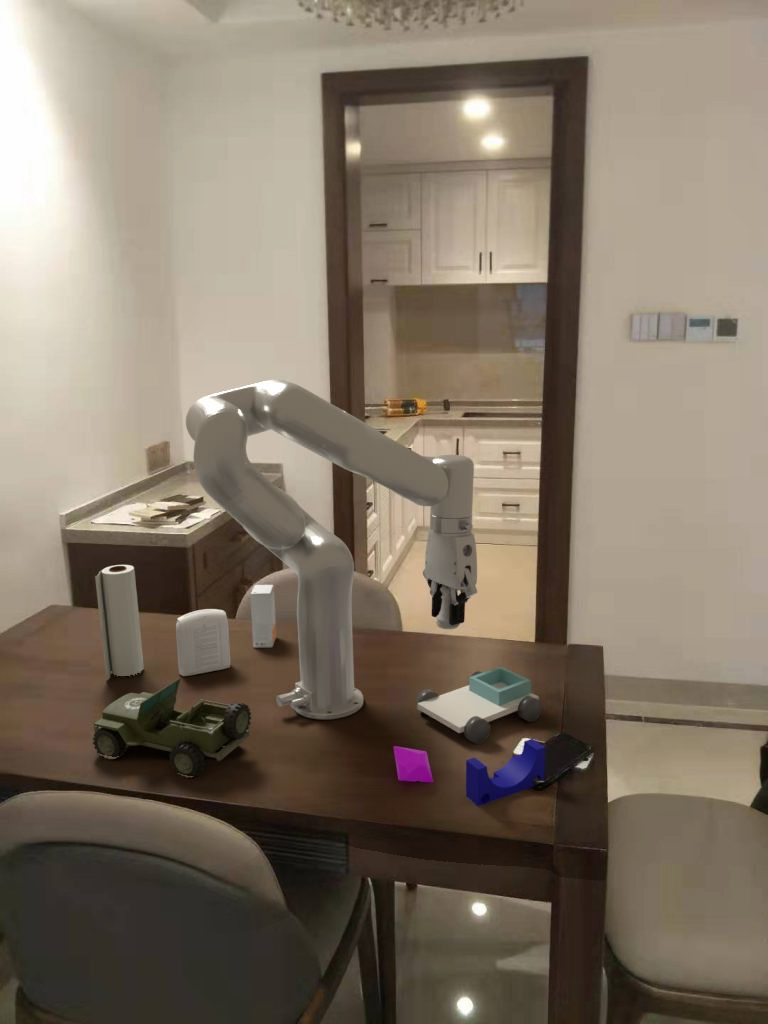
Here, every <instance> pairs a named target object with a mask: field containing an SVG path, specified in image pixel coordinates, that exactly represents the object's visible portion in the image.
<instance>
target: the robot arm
mask: <svg viewBox="0 0 768 1024" xmlns="http://www.w3.org/2000/svg"><path fill="white" fill-rule="evenodd" d="M185 426H186V430H187V432H188V434H189V436H190V438H191V439H192V440H193V441H194V448H193V465H194V470H195V471H194V472H195V474H196V478H197V479H198V482H199V484H200V486H201V487H202V488H203V490H204V491H205V492H206V494H207V495H208V496H209V497H210V498H211V499H212V500H213V502H215V503H216V504H218V505H219V506H220V507H221V508H222V509H223V510H224V511H226V512H227V514H229V515H230V517H231V518H232V519H234V520H235V522H237V523H239V525H241V526H242V528H243V529H244V530H245V531H246V532H247V534H249V535H250V537H251V538H253V539H254V540H255V541H256V542H258V543H259V544H261V545H262V546H264V548H266V549H267V550H268V551H269V552H271V553H272V554H273V555H274V556H275V557H277V558H278V559H279V560H281V561H282V562H283V563H284V564H285V565H286V566H288V568H290V570H292V571H293V573H294V574H295V575H296V576H297V579H298V587H297V591H298V592H297V598H296V599H297V600H296V618H297V619H296V621H297V634H298V635H297V639H298V654H299V655H298V657H299V658H298V659H299V678H300V680H299V681H297V682H295V685H294V687H295V688H294V689H292V690H291V691H290V692H287V693H283V694H280V695H276V697H275V700H276V704H277V706H278V707H284V706H287V705H290V708H291V709H293V710H294V711H295V712H296V713H297V714H299V715H300V716H302V717H305V718H309V719H314V720H336V719H341V718H345V717H348V716H350V715H353V714H355V713H357V712H358V711H359V710H360V709H361V708H362V707H363V705H364V694H363V693H362V691H361V690H360V689H358V688H356V687H355V673H354V671H355V669H354V643H353V620H352V619H353V617H352V615H353V614H352V613H353V612H352V597H353V596H352V594H353V593H352V592H353V583H354V576H355V574H354V573H355V563H354V558H353V554H352V553H351V551H350V549H349V547H348V546H347V545H346V543H345V542H344V541H343V540H342V539H341V538H340V537H339V536H336V535H335V534H334V533H333V532H331V531H329V530H328V529H327V528H326V527H324V526H323V525H322V524H320V523H319V522H318V521H317V520H316V519H314V517H313V516H312V515H310V514H309V513H308V512H307V511H306V510H304V508H303V507H301V506H300V505H299V504H298V502H297V501H296V500H295V498H293V497H292V496H291V495H290V494H288V493H287V492H285V491H284V490H283V489H281V488H280V487H278V486H276V485H275V484H274V483H273V482H271V481H270V480H269V478H267V477H266V476H265V475H264V474H263V473H262V472H261V471H260V470H259V469H258V468H257V467H256V466H255V465H253V464H252V462H251V461H250V459H249V457H248V454H247V443H248V437H251V436H254V435H257V434H258V435H259V434H261V433H264V432H267V431H270V430H272V431H273V432H275V433H277V434H278V435H280V436H283V437H284V438H287V440H290V441H292V442H294V443H296V444H298V445H299V446H301V447H303V448H305V449H307V450H309V451H310V452H313V453H314V454H317V455H319V456H320V457H321V458H323V459H325V460H327V461H329V462H331V463H333V464H335V465H337V466H339V467H341V468H343V469H344V470H346V471H348V472H351V473H354V474H357V475H359V476H362V477H364V478H366V479H368V480H371V481H372V482H374V483H376V484H379V485H381V486H382V487H384V488H386V489H388V490H390V491H391V492H393V493H395V494H396V495H398V496H400V497H401V498H403V499H407V500H408V501H410V502H412V503H414V504H416V505H417V506H421V507H430V510H429V511H430V514H429V521H430V522H429V529H428V534H427V539H426V545H425V556H424V558H425V559H424V569H423V571H422V575H423V577H424V579H425V580H426V581H427V585H428V587H429V589H430V590H429V593H430V596H431V617H432V618H437V615H438V614H439V612H440V610H441V605H442V598H441V596H442V592H441V590H440V588H441V587H442V585H445V586H447V587H450V588H451V596H452V603H453V604H450V611H449V624H450V625H456V624H463V623H464V622H465V620H466V619H465V612H466V611H465V610H466V603H468V600H469V599H471V597H473V596H474V595H476V594H478V589H477V586H476V585H477V581H478V557H477V544H476V539H475V533H472V530H473V526H474V525H473V524H472V523H473V500H474V499H473V498H474V497H473V496H474V495H473V494H474V472H475V471H474V469H475V467H474V466H475V465H474V464H475V463H474V461H473V460H472V459H471V458H470V457H468V456H466V455H459V454H443V455H438V456H425V455H421V454H419V453H417V452H416V451H414V450H412V449H410V448H408V447H407V446H405V445H403V444H402V443H400V442H398V441H396V440H394V439H392V438H391V437H389V436H387V435H385V434H384V433H382V432H381V431H379V430H377V429H376V428H374V427H373V426H372V425H369V424H368V423H366V422H365V421H363V420H361V419H359V418H357V417H355V416H354V415H352V414H351V413H348V412H347V411H345V410H344V409H342V408H339V407H338V406H336V405H334V404H332V403H331V402H329V401H327V400H325V399H324V398H322V397H321V396H318V395H317V394H315V393H313V392H311V391H310V390H308V389H306V388H304V387H303V386H301V385H298V384H297V383H293V382H290V381H287V380H283V379H277V378H276V379H269V380H265V381H262V382H261V381H260V382H257V383H253V384H249V385H245V386H242V387H237V388H234V389H229V390H226V391H221V392H218V393H217V392H216V393H213V394H209V395H206V396H203V397H201V398H199V399H198V400H196V401H195V402H194V403H193V404H191V406H190V407H189V409H188V411H187V412H186V416H185ZM458 591H460V593H459V594H458Z"/></svg>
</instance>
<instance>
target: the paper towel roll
mask: <svg viewBox="0 0 768 1024" xmlns="http://www.w3.org/2000/svg"><path fill="white" fill-rule="evenodd" d="M135 573H136V572H135V566H133V565H130V564H116V565H110V566H107V567H105V568H103V569H101V570H100V571H99V572H98V574H97V575H95V577H94V578H95V587H96V598H97V599H96V600H97V605H98V606H97V607H98V614H99V615H98V617H99V625H100V626H99V627H100V636H101V643H102V644H101V645H102V652H103V661H104V671H105V672H104V673H105V680H106V679H107V678H108V677H109V676H110V677H111V675H110V673H111V671H112V673H111V674H114V675H113V676H115V675H117V676H116V677H118V676H129V677H131V676H130V675H133V676H136V675H138V674H137V673H139V674H141V673H142V672H143V671H144V668H145V667H144V657H143V655H144V654H143V648H142V647H143V646H142V635H141V625H140V623H141V622H140V616H139V615H140V614H139V605H138V604H139V603H138V593H137V585H136V574H135ZM142 670H143V671H142ZM141 671H142V672H141ZM135 674H136V675H135ZM110 677H109V678H110ZM107 680H108V679H107Z"/></svg>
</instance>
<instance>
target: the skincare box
mask: <svg viewBox="0 0 768 1024" xmlns="http://www.w3.org/2000/svg"><path fill="white" fill-rule="evenodd" d="M251 590H252V591H251V592H250V595H249V596H250V597H249V598H250V599H249V600H250V614H251V633H252V648H255V649H256V648H257V649H258V648H260V649H261V648H273V647H274V644H275V641H276V639H277V627H276V626H277V623H276V602H275V586H274V584H255V585H253V588H252V589H251Z"/></svg>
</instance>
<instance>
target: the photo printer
mask: <svg viewBox="0 0 768 1024" xmlns="http://www.w3.org/2000/svg"><path fill="white" fill-rule="evenodd" d="M175 623H176V624H175V625H176V626H175V635H176V650H177V661H178V662H177V663H178V673H179V675H181V676H182V677H188V676H195V675H199V674H205V673H210V672H214V671H220V670H225V669H229V668H230V667H231V653H230V652H231V651H230V650H231V649H230V634H229V633H230V632H229V620H228V616H227V613H226V611H225V610H222V609H217V608H205V609H198V610H195V611H192V612H191V611H190V612H188V613H185V614H183V615H181V616H180V617H179V616H178V618H176V622H175Z"/></svg>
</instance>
